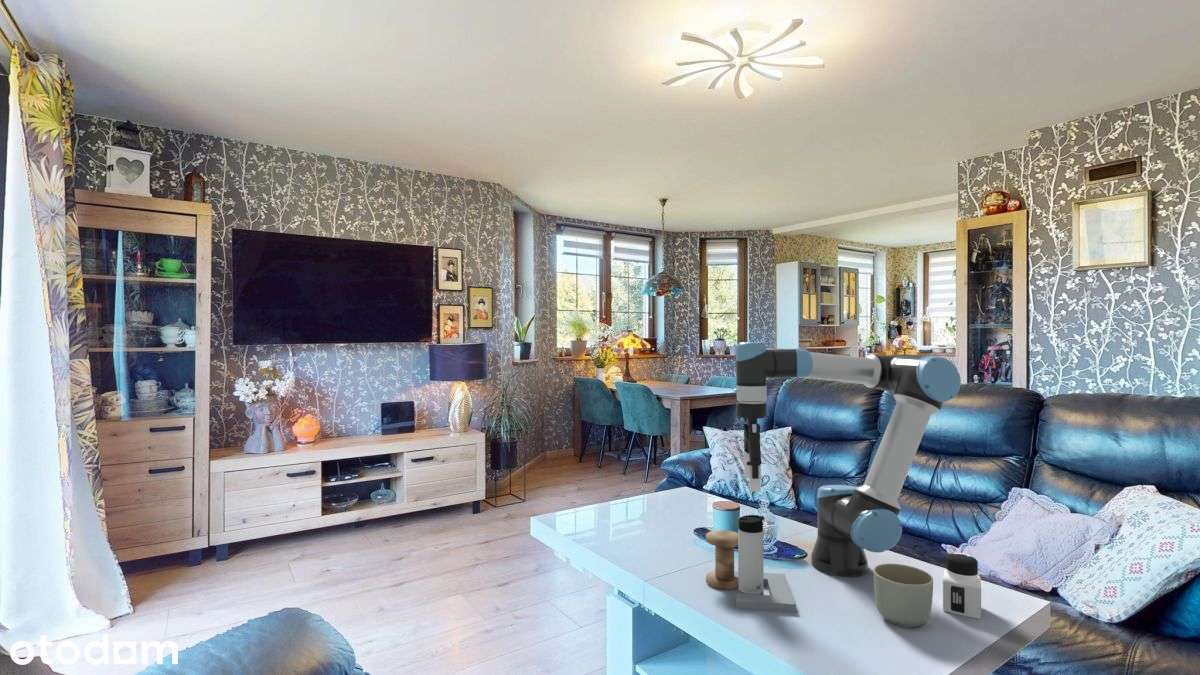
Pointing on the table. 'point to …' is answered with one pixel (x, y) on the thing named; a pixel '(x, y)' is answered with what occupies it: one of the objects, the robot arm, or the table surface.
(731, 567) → the bobbin
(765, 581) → the notched board
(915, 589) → the planter
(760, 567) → the travel mug
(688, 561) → the table surface
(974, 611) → the container
